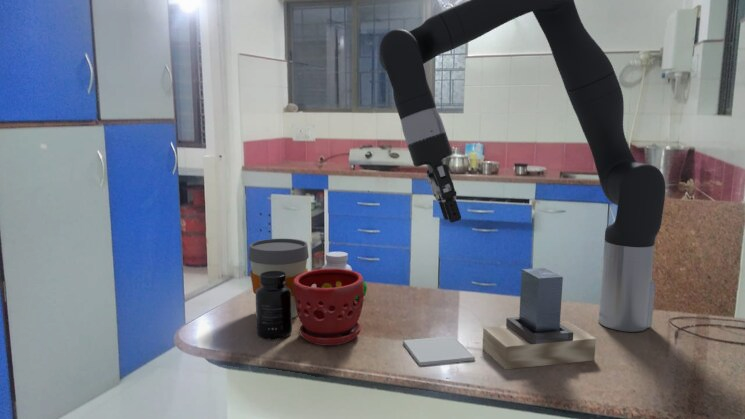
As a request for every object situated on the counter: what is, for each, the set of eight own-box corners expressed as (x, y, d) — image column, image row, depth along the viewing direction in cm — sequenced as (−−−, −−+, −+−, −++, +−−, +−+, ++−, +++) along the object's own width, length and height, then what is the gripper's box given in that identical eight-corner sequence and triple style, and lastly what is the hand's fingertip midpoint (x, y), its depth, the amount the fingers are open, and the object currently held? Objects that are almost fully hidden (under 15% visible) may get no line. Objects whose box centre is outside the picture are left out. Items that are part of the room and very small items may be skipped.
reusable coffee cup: (321, 310, 125) (320, 242, 123) (282, 327, 115) (281, 254, 112) (277, 300, 132) (276, 235, 130) (237, 315, 122) (235, 246, 119)
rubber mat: (453, 339, 110) (453, 335, 109) (474, 360, 100) (474, 357, 100) (403, 343, 107) (403, 340, 107) (419, 365, 98) (419, 362, 98)
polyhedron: (370, 297, 135) (370, 277, 134) (361, 303, 130) (361, 283, 129) (351, 294, 137) (351, 275, 136) (341, 300, 132) (341, 280, 131)
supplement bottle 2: (347, 318, 120) (347, 258, 118) (317, 315, 122) (317, 256, 120) (355, 308, 127) (355, 251, 125) (326, 305, 128) (326, 249, 126)
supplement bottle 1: (258, 327, 115) (257, 269, 113) (293, 327, 115) (292, 268, 113) (254, 340, 108) (252, 279, 106) (291, 340, 108) (290, 278, 106)
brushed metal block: (541, 326, 106) (544, 267, 104) (558, 338, 100) (562, 276, 98) (518, 328, 104) (521, 269, 103) (535, 340, 99) (538, 278, 97)
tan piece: (565, 341, 109) (567, 313, 108) (594, 360, 100) (596, 330, 100) (482, 348, 105) (483, 319, 104) (505, 369, 96) (506, 338, 96)
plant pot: (306, 322, 118) (306, 265, 116) (369, 328, 115) (370, 269, 113) (284, 347, 105) (283, 283, 103) (354, 354, 102) (354, 289, 100)
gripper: (449, 127, 100) (478, 215, 101) (440, 134, 114) (466, 211, 115) (408, 140, 100) (437, 229, 101) (405, 146, 114) (430, 223, 115)
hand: (452, 219), depth 108 cm, fingers open, 8 cm apart
